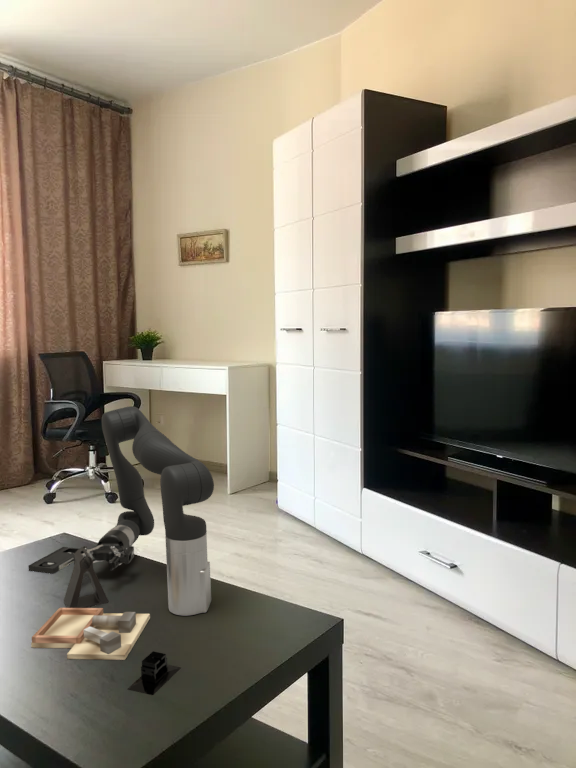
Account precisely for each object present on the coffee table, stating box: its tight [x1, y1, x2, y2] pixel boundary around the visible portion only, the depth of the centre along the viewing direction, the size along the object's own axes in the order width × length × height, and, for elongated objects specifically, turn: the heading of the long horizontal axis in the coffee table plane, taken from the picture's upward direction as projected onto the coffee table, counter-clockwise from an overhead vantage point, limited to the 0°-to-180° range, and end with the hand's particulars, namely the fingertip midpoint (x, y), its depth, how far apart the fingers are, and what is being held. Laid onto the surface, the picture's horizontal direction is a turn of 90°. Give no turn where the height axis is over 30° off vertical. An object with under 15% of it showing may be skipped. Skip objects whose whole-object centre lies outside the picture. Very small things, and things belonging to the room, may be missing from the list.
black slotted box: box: [127, 651, 182, 696], centre depth 114 cm, size 12×7×5 cm, turn 158°
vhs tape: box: [28, 546, 80, 575], centre depth 171 cm, size 14×8×2 cm, turn 162°
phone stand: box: [63, 549, 109, 608], centre depth 145 cm, size 9×6×12 cm, turn 120°
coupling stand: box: [30, 607, 151, 661], centre depth 129 cm, size 21×17×4 cm
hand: (93, 566), depth 150 cm, fingers open, 8 cm apart
